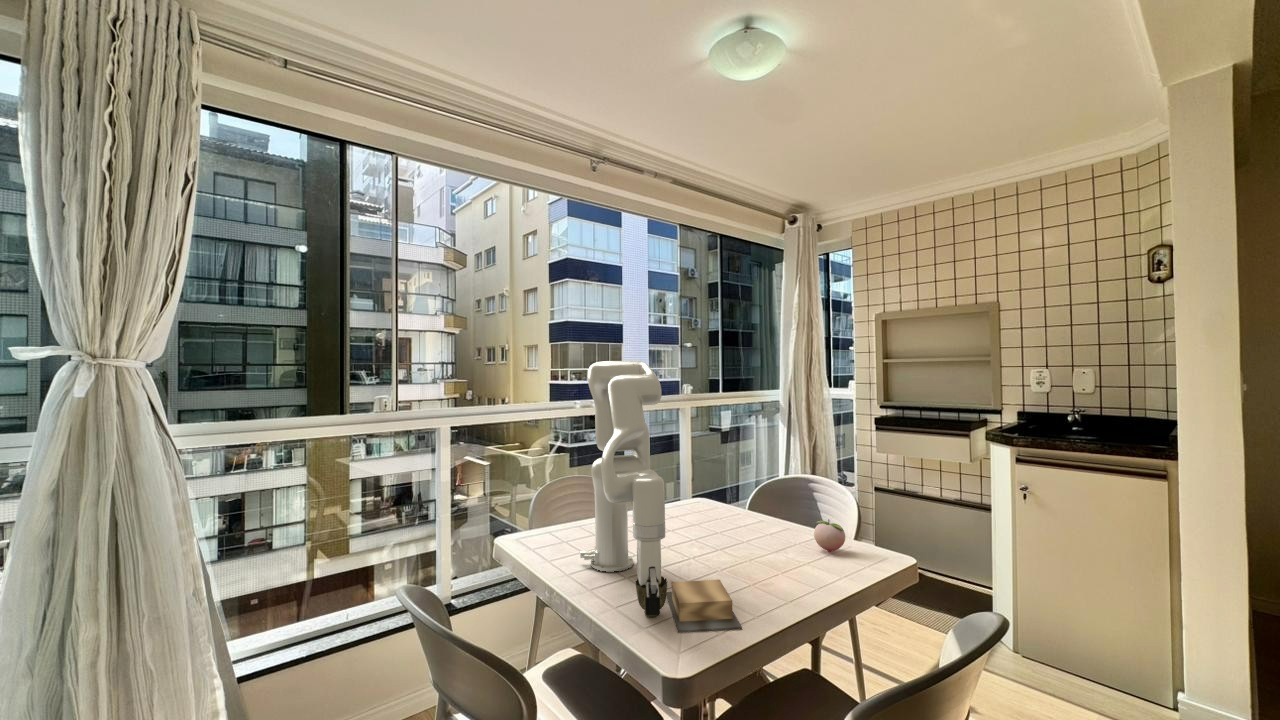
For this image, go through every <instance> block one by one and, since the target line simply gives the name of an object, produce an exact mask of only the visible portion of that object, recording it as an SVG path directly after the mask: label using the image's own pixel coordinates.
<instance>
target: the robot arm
mask: <svg viewBox="0 0 1280 720" xmlns="http://www.w3.org/2000/svg"><path fill="white" fill-rule="evenodd" d="M587 371H588V372H587V383H588V387H589V391H590V394H591V397H592V400H593V402H594V403H593V404H594V415H595V416H594V418H595V419H594V420H595V421H594V422H595V425H594V427H595V428H594V429H595V443H596V447H597V448H598V450H600V451H602V455H601V457H598V458H596V459H595V460H594V462H593V463H592V465H591V479H592V485H593V491H594V492H593V493H594V515H595V516H594V518H595V519H594V520H595V525H594V528H595V535H594V536H595V546H594V549H591V550H588V551H587V550H581V551H580V559H583V561H590V567H591V566H592V567H593V568H595V569H597V570H596V571H598V570H600V571H599V572H602V571H606V572H605V573H615V572H614V571H619V572H622V571H621V570H623V571H626V570H629V569H630V568H632V567H633V565H634V558H633V557H631V556H630V555H629V531H628V530H629V526H628V520H629V519H628V503H632V537H633V539H635V540H636V574H637V578H638V580H639V584H640V585H641V586H643V585H645V584H646V596H645V610H646V615H647V616H649V615H659V616H660V614H661V609H660V596H659V587H658V585H659V584H660V583H661V576H662V543H661V542H662V541H661V540H664V539H665V538H666V504H665V503H666V498H665V497H666V495H665V494H666V493H665V489H666V488H665V481H664V478H663V477H662V476H660V475H659V474H658V473H657V472H656V471H655V470H654V469H651V452H650V451H651V447H650V433H649V432H650V431H649V428H648V426H647V423H646V421H645V419H646V418H645V413H644V408H643V406H655V405H657V404H659V402H660V401H661V398H662V386H661V383H660V379H659V378H658V376H657V375H656V373H655V372H654V370H653V369H651V367H650V366H649V365H648V363H646V362H645V361H641V360H605V361H604V360H603V361H602V360H601V361H597V362H594V363H592V364H591V365H590V366H589V368H588V370H587ZM625 451H626V452H627V451H629V452H630V451H631V452H632V454H624V455H620V454H619V455H615V454H616V452H625ZM592 567H591V568H592ZM593 568H592V569H593ZM628 568H629V569H628ZM595 569H594V570H595ZM625 569H626V570H625ZM648 581H650V582H648ZM649 586H651V588H649Z"/></svg>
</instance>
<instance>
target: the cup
mask: <svg viewBox="0 0 1280 720" xmlns="http://www.w3.org/2000/svg"><path fill="white" fill-rule="evenodd" d="M634 582H635V588H636V589H635V590H636V597H637V601H638V605H639V606H640V608H642V610H643V613H644V616H645V617H646V618H648V619H649V618H650V619H655V618H658V617H659V616H660V614H659V615H649V616H647V615H646V610H645V596H646V584H645V585H643V586H641V585H640V584H639V580H638V577H637V578H636V580H635V581H634ZM648 582H650V581H648ZM668 583H669V582H668V580H667V578H666V577H664V576H663V575H661V583H660V584H659V585H658V587H659V596H660V610H662V609H663V608H664V606H665V605H666V601H667V596H666V594H667V592H668ZM649 588H651V586H649Z"/></svg>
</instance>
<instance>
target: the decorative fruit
mask: <svg viewBox="0 0 1280 720" xmlns="http://www.w3.org/2000/svg"><path fill="white" fill-rule="evenodd" d="M815 525H816V526H815V528H814V530H813V536H814V540H815V542H816V543H817V545H818V546H819V547H820V548H821V549H824V550H825V551H827V552H829V553H831V552H836V551H838V550H840V549H841V548H842V546H844V544H845V542H846V533H845V530H844V529H843V527H842V526H841V525H840V524H839V523H838V524H837V523H830V519H828V521H826V520H819V521H817V522H815Z"/></svg>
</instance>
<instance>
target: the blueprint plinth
mask: <svg viewBox="0 0 1280 720" xmlns="http://www.w3.org/2000/svg"><path fill="white" fill-rule="evenodd" d="M666 600H667V601H668V602H667V603H668V605H669V608H670V611H671V616H672V618H673V621H674V623H675V627H676V630H677V633H678V634H685V633H700V632H717V631H718V632H719V631H720V632H721V631H732V630H733V631H737V630H743V627H742V624H741V623H740V621H739V619H738V617H737V616H736V614H735V612H734V610H733V599H732V597H731V595H729V592H728V591H727V589H726V587H725V585H724V584H723V583H722V581H721V579H704V580H703V579H702V580H701V579H700V580H685V581H684V580H683V581H671V591H667V594H666Z"/></svg>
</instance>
